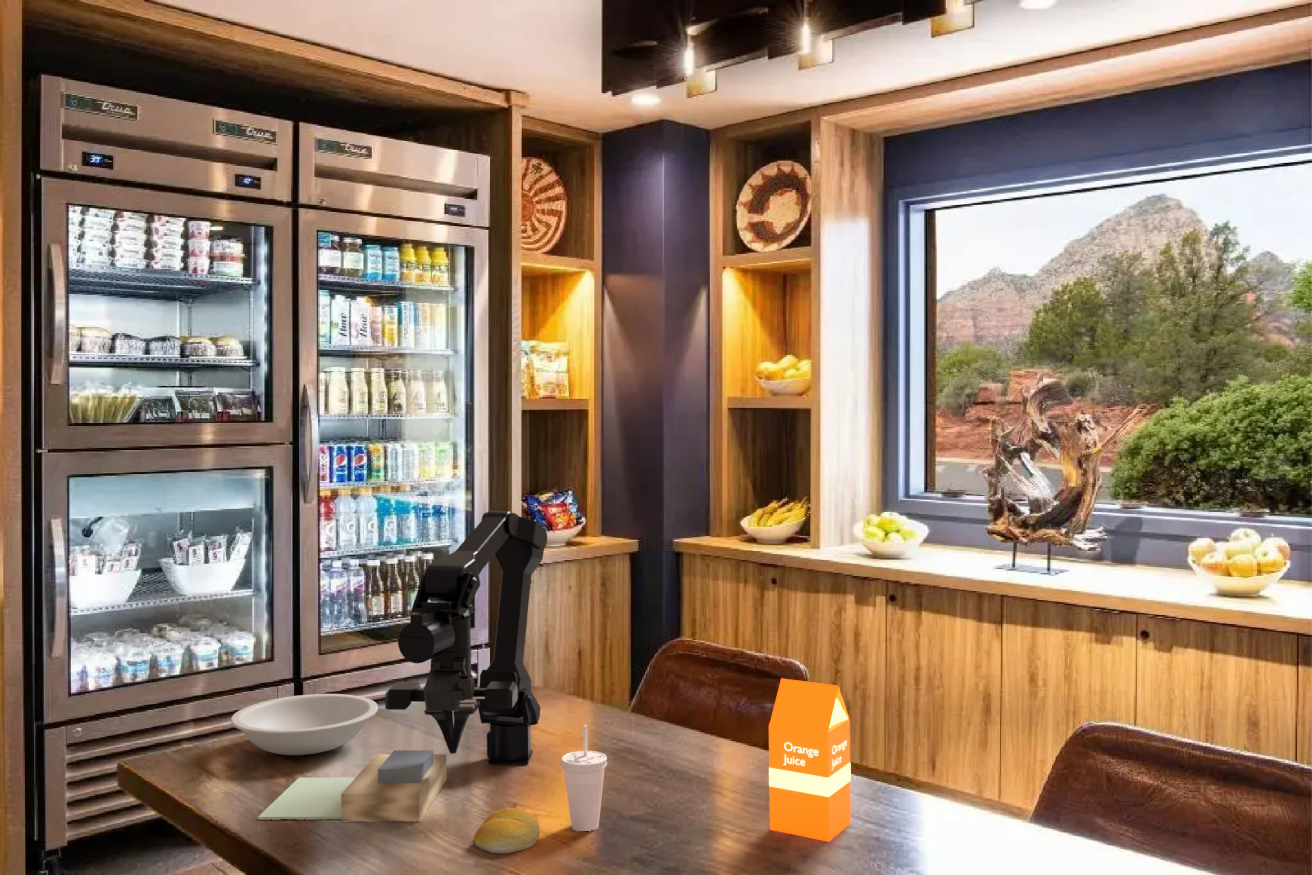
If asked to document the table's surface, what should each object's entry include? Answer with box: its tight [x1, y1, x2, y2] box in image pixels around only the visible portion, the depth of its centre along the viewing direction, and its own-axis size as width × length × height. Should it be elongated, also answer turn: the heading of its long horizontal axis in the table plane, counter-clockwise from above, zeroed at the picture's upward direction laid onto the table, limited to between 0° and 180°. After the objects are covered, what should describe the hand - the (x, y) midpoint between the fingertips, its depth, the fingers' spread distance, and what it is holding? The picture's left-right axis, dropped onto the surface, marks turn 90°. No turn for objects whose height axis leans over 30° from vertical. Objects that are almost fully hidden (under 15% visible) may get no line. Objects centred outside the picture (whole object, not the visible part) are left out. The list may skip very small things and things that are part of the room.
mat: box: [257, 776, 357, 821], centre depth 171 cm, size 12×17×1 cm
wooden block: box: [341, 753, 448, 823], centre depth 170 cm, size 11×18×4 cm, turn 178°
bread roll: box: [473, 807, 541, 854], centre depth 153 cm, size 8×9×4 cm
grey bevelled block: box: [378, 749, 434, 783], centre depth 170 cm, size 6×9×2 cm, turn 178°
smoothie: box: [560, 724, 608, 832], centre depth 158 cm, size 6×6×14 cm
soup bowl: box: [230, 693, 379, 756], centre depth 195 cm, size 24×24×7 cm
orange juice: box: [768, 678, 852, 842], centre depth 157 cm, size 8×9×20 cm
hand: (453, 752), depth 170 cm, fingers closed
